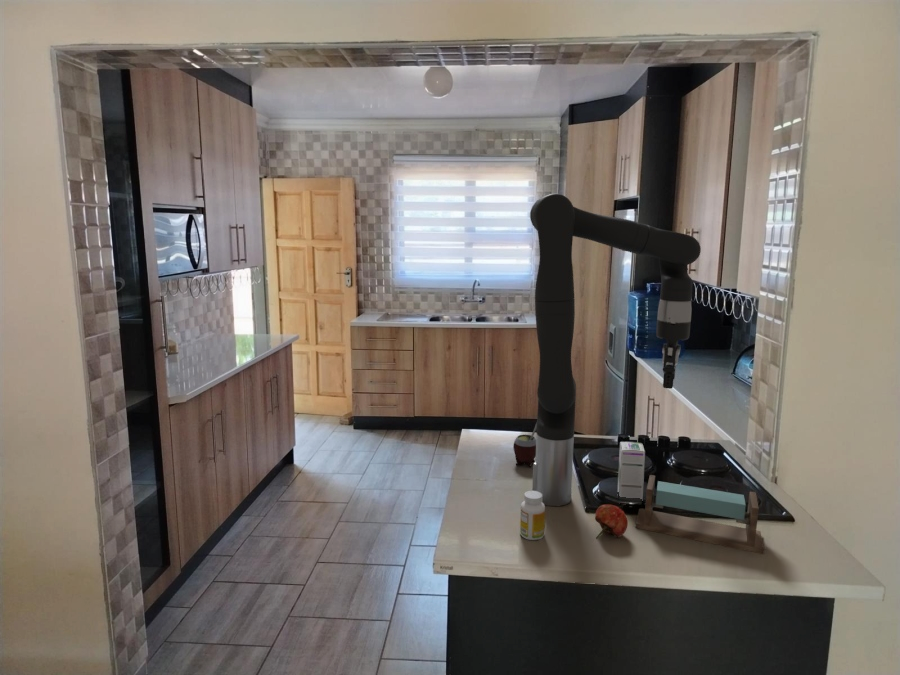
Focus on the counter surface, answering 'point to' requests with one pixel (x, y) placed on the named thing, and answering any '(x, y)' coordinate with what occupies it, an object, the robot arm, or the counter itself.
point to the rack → (702, 525)
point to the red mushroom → (611, 519)
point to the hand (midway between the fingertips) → (668, 383)
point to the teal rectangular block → (701, 500)
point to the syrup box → (631, 470)
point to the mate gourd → (525, 449)
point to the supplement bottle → (532, 516)
